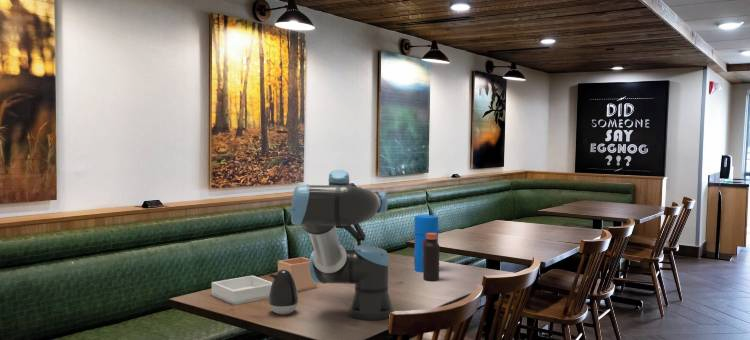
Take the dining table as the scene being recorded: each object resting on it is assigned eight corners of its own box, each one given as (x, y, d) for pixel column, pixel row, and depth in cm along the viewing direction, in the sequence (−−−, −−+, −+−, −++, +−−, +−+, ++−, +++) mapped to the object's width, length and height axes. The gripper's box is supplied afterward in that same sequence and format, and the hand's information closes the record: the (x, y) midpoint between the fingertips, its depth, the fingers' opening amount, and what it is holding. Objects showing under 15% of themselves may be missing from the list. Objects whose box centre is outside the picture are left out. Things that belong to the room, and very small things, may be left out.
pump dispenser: (263, 311, 210) (263, 268, 209) (289, 306, 216) (289, 265, 215) (276, 318, 202) (275, 274, 201) (303, 313, 208) (303, 270, 207)
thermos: (442, 270, 276) (442, 216, 275) (428, 273, 269) (428, 218, 267) (423, 266, 284) (424, 214, 282) (409, 270, 276) (409, 216, 275)
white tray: (276, 296, 229) (276, 283, 229) (233, 305, 218) (233, 291, 217) (252, 287, 243) (252, 275, 243) (211, 295, 231) (211, 282, 231)
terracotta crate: (316, 287, 243) (316, 261, 243) (291, 292, 235) (291, 265, 235) (302, 283, 251) (302, 257, 250) (277, 287, 243) (277, 261, 242)
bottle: (431, 282, 253) (431, 235, 252) (420, 279, 258) (420, 233, 257) (442, 279, 258) (442, 233, 257) (430, 276, 263) (431, 231, 262)
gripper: (373, 204, 227) (371, 247, 239) (309, 198, 230) (310, 241, 241) (370, 216, 221) (369, 260, 232) (304, 209, 223) (306, 253, 235)
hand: (339, 250), depth 237 cm, fingers open, 13 cm apart
